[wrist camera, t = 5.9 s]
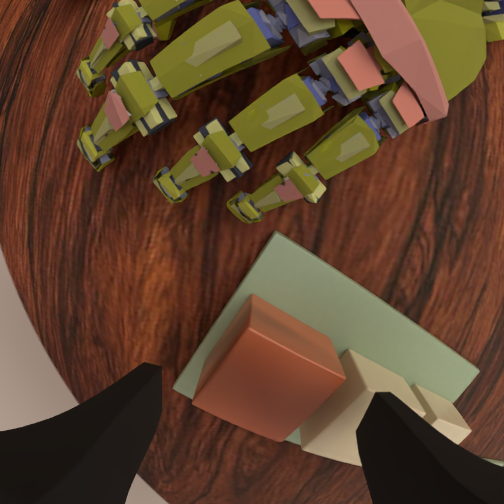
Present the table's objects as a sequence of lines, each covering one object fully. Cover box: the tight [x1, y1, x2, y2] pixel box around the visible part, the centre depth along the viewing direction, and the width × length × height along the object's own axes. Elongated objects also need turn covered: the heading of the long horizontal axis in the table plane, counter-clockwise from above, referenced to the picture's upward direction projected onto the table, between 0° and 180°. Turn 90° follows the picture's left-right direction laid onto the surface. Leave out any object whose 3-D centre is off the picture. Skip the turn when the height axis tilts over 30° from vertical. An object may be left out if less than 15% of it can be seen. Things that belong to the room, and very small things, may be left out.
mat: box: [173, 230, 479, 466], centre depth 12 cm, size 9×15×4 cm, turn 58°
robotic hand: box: [76, 0, 504, 224], centre depth 8 cm, size 12×7×25 cm
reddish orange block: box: [192, 294, 346, 442], centre depth 11 cm, size 4×4×3 cm
